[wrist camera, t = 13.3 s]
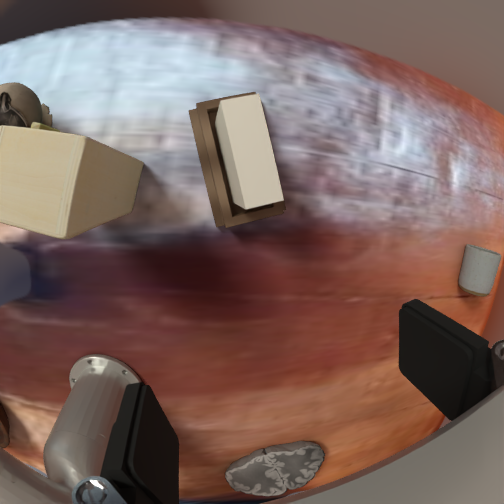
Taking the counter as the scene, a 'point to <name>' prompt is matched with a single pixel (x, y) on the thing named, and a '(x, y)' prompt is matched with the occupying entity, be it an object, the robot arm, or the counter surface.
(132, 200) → the toy refrigerator
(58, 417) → the robot arm
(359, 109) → the counter surface
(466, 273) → the ceramic mug
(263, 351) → the counter surface
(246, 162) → the rectangular block
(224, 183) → the brown wooden tray
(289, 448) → the brain slice
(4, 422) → the dish
